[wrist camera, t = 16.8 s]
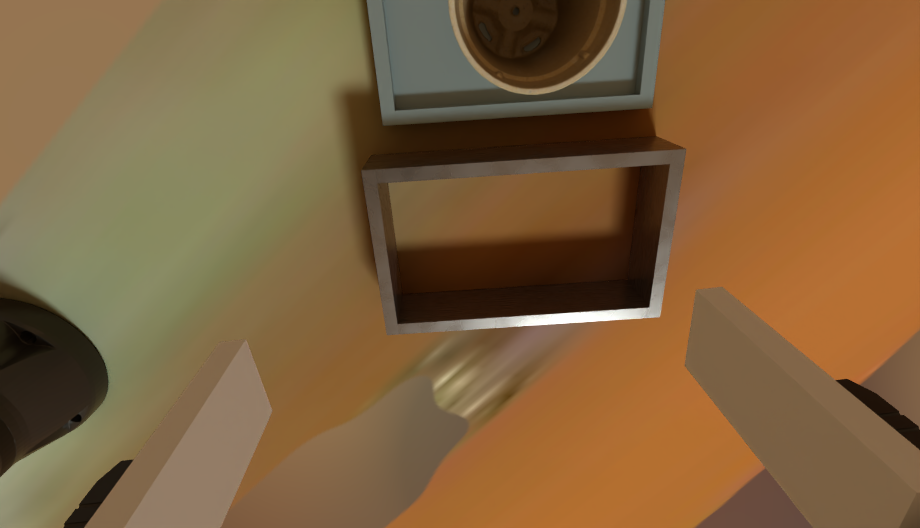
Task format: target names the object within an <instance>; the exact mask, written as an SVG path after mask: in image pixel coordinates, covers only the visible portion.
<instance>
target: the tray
mask: <svg viewBox="0 0 920 528" xmlns="http://www.w3.org/2000/svg"><path fill="white" fill-rule="evenodd" d="M664 5H665V0H627V5H626V9H625V13H624V17H623V20H622V23H621V26H620V28H619V30H618V33H617V35H616V37H615V39H614V41H613V43H612V44H611V46H610V47H609V49H608V50H607V52H606V53H605V55H604V56H603V57H602V59H601V60H600V61H599V62H598V63H597V64H596V65H595V66H594V67H593V68H592V69H591V70H590V71H589V72H588V73H587V74H585V75H584V76H583V77H581V78H580V79H579V80H577V81H576V82H574V83H572V84H570V85H568V86H566V87H564V88H562V89H559V90H557V91H554V92H550V93H544V94H538V95H527V94H519V93H514V92H510V91H507V90H505V89H502V88H500V87H498V86H496V85H494V84H492V83H491V82H489V81H488V80H487V79H485V78H484V77H483V76H481V75H480V74H479V73H478V72H477V71H476V70H475V69H474V68H473V66H472V65H471V64H470V63H469V61H468V60H467V58H466V57H465V56H464V54H463V52H462V50H461V48H460V46H459V44H458V42H457V40H456V37H455V35H454V31H453V28H452V25H451V20H450V15H449V5H448V0H367V7H368V14H369V22H370V30H371V38H372V45H373V53H374V61H375V68H376V76H377V84H378V91H379V99H380V107H381V115H382V122H383V126H388V125H403V124H418V123H433V122H448V121H464V120H479V119H494V118H509V117H524V116H539V115H554V114H569V113H585V112H600V111H615V110H630V109H645V108H652V105H653V96H654V88H655V80H656V71H657V63H658V55H659V47H660V38H661V30H662V22H663V13H664ZM518 13H519V9H518V8H514V10H513V14H514V15H517V14H518ZM479 29H480V30H481V32H482V33H483V35H484V36H485V37H486V38H487V39H488V41H490V40H491V36H490V35H489V33H488V31H487V29H486V26H485V24H484V23H480V24H479ZM539 43H540V39H539V38H537V39H536V40H535V41H533V42H532V43H530V44H529V45H527V46H526V47H524V50H525V51H531V50H532V49H533V48H535V47H537V46H538V44H539Z"/></svg>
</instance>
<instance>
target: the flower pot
mask: <svg viewBox="0 0 920 528" xmlns="http://www.w3.org/2000/svg"><path fill="white" fill-rule="evenodd" d="M448 5H449V15H450V20H451V25H452V28H453V31H454V35H455V37H456V40H457V42H458V44H459V46H460V48H461V50H462V52H463V54H464V56H465V57H466V58H467V60H468V61H469V63H470V64H471V65H472V66H473V68H474V69H475V70H476V71H477V72H478V73H479V74H480V75H481V76H483V77H484V78H485V79H487V80H488V81H489V82H491V83H492V84H494V85H496V86H498V87H500V88H502V89H505V90H507V91H510V92H514V93H519V94H527V95H538V94H544V93H550V92H554V91H557V90H559V89H562V88H564V87H566V86H568V85H570V84H572V83H574V82H576V81H577V80H579V79H580V78H581V77H583V76H584V75H585V74H587V73H588V72H589V71H590V70H591V69H592V68H593V67H594V66H595V65H596V64H597V63H598V62H599V61H600V60H601V59H602V57H603V56H604V55H605V53H606V52H607V50H608V49H609V47H610V46H611V44H612V43H613V41H614V39H615V37H616V35H617V33H618V30H619V28H620V26H621V23H622V20H623V17H624V13H625V9H626V5H627V0H448ZM514 8H518V9H519V13H518V14H517V15H514V14H513V10H514ZM480 23H484V24H485V26H486V29H487V31H488V33H489V35H490V36H491V40H490V41H488V39H487V38H486V37H485V36H484V35H483V33H482V32H481V30H480V29H479V24H480ZM537 38H539V39H540V43H539V44H538V46H537V47H535V48H533V49H532V50H531V51H525V50H524V47H526V46H527V45H529V44H530V43H532V42H533V41H535V40H536V39H537Z"/></svg>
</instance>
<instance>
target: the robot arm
mask: <svg viewBox="0 0 920 528" xmlns="http://www.w3.org/2000/svg"><path fill="white" fill-rule="evenodd" d="M685 367H686V368H687V369H688V370H689V372H690V373H691V374H692V375H693V377H694V378H695V379H696V381H697V382H698V383H699V384H700V386H701V387H702V388H703V389H704V391H705V392H706V393H707V394H708V396H709V397H710V398H711V399H712V401H713V402H714V403H715V405H716V406H717V407H718V408H719V410H720V411H721V412H722V413H723V415H724V416H725V417H726V418H727V420H728V421H729V422H730V423H731V425H732V426H733V427H734V428H735V430H736V431H737V432H738V434H739V435H740V436H741V437H742V439H743V440H744V441H745V442H746V444H747V445H748V446H749V447H750V449H751V450H752V451H753V452H754V454H755V455H756V456H757V458H758V459H759V460H760V461H761V463H762V464H763V465H764V466H765V468H766V469H767V470H768V471H769V473H770V474H771V475H772V476H773V478H774V479H775V480H776V481H777V483H778V484H779V485H780V487H781V488H782V489H783V490H784V492H785V493H786V494H787V495H788V497H789V498H790V499H791V500H792V502H793V503H794V504H795V506H796V507H797V508H798V509H799V510H800V512H801V513H802V514H803V516H804V517H805V518H806V519H807V521H808V522H809V523H810V524H811V526H812V527H813V528H920V430H919V427H918V426H917V425H916V424H915V423H913V422H912V421H911V420H910V419H908V418H907V417H906V416H904V415H900V414H899V411H898V410H897V409H895V408H894V407H893V406H892V405H890V404H889V403H888V402H886V401H885V400H884V399H882V398H881V397H880V396H879V395H877V394H876V393H874V392H872V391H870V390H868V389H866V388H864V387H862V386H860V385H858V384H856V383H854V382H852V381H850V380H848V379H842V380H834V379H833V378H832V377H831V376H829V375H828V374H827V373H826V372H825V371H823V370H822V369H821V368H820V367H819V366H817V365H816V364H815V363H814V362H813V361H811V360H810V359H809V358H808V357H806V356H805V355H804V354H803V353H802V352H800V351H799V350H798V349H797V348H796V347H794V346H793V345H792V344H791V343H789V342H788V341H787V340H786V339H785V338H783V337H782V336H781V335H780V334H779V333H777V332H776V331H775V330H774V329H773V328H771V327H770V326H769V325H768V324H766V323H765V322H764V321H763V320H762V319H760V318H759V317H758V316H757V315H756V314H754V313H753V312H752V311H751V310H750V309H748V308H747V307H746V306H745V305H743V304H742V303H741V302H740V301H739V300H737V299H736V298H735V297H734V296H733V295H731V294H730V293H729V292H728V291H727V290H725V289H724V288H723V287H717V288H708V289H699V290H696V294H695V301H694V307H693V314H692V320H691V327H690V333H689V340H688V347H687V353H686V360H685ZM107 390H108V376H107V371H106V368H105V365H104V363H103V361H102V359H101V357H100V355H99V354H98V352H97V351H96V349H95V348H94V347H93V345H92V344H91V343H90V342H89V341H88V340H87V339H86V338H85V337H84V336H83V335H82V334H81V333H80V332H79V331H78V330H76V329H75V328H74V327H73V326H71V325H70V324H68V323H67V322H65V321H64V320H62V319H61V318H59V317H57V316H55V315H54V314H52V313H50V312H48V311H45V310H43V309H41V308H38V307H36V306H33V305H30V304H27V303H23V302H19V301H14V300H9V299H0V477H1V476H2V475H3V474H4V473H5V472H6V471H7V470H8V469H9V468H10V467H11V466H12V465H13V464H15V463H16V462H18V461H19V460H21V459H23V458H25V457H26V456H28V455H30V454H32V453H34V452H35V451H37V450H39V449H41V448H42V447H44V446H46V445H48V444H50V443H51V442H53V441H55V440H57V439H59V438H60V437H62V436H64V435H66V434H67V433H69V432H71V431H73V430H74V429H76V428H77V427H79V426H80V425H81V424H83V423H84V422H85V421H86V420H87V419H88V418H89V417H90V416H91V415H92V414H93V413H94V412H95V410H96V409H97V408H98V407H99V406H100V405H101V404H102V402H103V401H104V399H105V397H106V394H107ZM271 413H272V409H271V406H270V403H269V401H268V398H267V395H266V392H265V390H264V387H263V384H262V381H261V379H260V376H259V373H258V370H257V368H256V365H255V362H254V359H253V357H252V354H251V351H250V349H249V346H248V343H247V340H246V339H243V340H234V341H225V342H219V344H218V345H217V346H216V348H215V349H214V350H213V352H212V353H211V355H210V356H209V357H208V359H207V360H206V361H205V363H204V364H203V366H202V367H201V368H200V370H199V371H198V372H197V374H196V375H195V377H194V378H193V379H192V381H191V382H190V383H189V385H188V386H187V387H186V389H185V390H184V392H183V393H182V394H181V396H180V397H179V398H178V400H177V401H176V403H175V404H174V405H173V407H172V408H171V409H170V411H169V412H168V414H167V415H166V416H165V418H164V419H163V420H162V422H161V423H160V424H159V426H158V427H157V429H156V430H155V431H154V433H153V434H152V435H151V437H150V438H149V440H148V441H147V442H146V444H145V445H144V446H143V448H142V449H141V451H140V452H139V453H138V455H137V456H136V457H135V459H134V460H126V461H121V462H119V463H118V464H117V465H116V466H115V467H114V468H112V469H111V470H110V471H109V472H108V473H106V474H105V475H104V476H103V477H102V478H101V479H99V480H98V481H97V482H96V483H95V485H94V486H93V487H92V489H91V490H90V491H89V492H88V494H87V495H86V496H85V498H84V499H83V500H82V501H81V503H80V504H79V508H78V509H75V510H74V512H73V513H72V514H71V516H70V517H69V518H68V519H67V521H66V522H65V523H64V528H221V525H222V523H223V521H224V519H225V516H226V514H227V512H228V510H229V507H230V505H231V503H232V501H233V498H234V496H235V494H236V492H237V490H238V487H239V485H240V483H241V481H242V478H243V476H244V474H245V472H246V469H247V467H248V465H249V463H250V460H251V458H252V456H253V454H254V451H255V449H256V447H257V445H258V442H259V440H260V438H261V436H262V433H263V431H264V429H265V427H266V424H267V422H268V420H269V418H270V415H271Z"/></svg>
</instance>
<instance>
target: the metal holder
mask: <svg viewBox="0 0 920 528" xmlns="http://www.w3.org/2000/svg"><path fill="white" fill-rule="evenodd" d="M685 154H686V149H685V148H683V147H680V146H678V145H676V144H673V143H671V142H669V141H666V140H664V139H662V138H659V137H657V136H654V137H639V138H624V139H608V140H593V141H578V142H563V143H548V144H533V145H518V146H502V147H487V148H472V149H457V150H442V151H427V152H412V153H396V154H381V155H371V157H370V158H369V160H368V161H367V163H366V164H365V166H364V167H363V169H362V170H361V173H362V179H363V185H364V192H365V198H366V205H367V211H368V217H369V224H370V230H371V236H372V243H373V249H374V256H375V262H376V268H377V275H378V281H379V287H380V294H381V300H382V307H383V313H384V319H385V326H386V332H387V335H395V334H410V333H425V332H440V331H455V330H471V329H486V328H501V327H516V326H531V325H547V324H562V323H577V322H592V321H607V320H622V319H638V318H653V317H660V313H661V306H662V300H663V294H664V287H665V281H666V275H667V268H668V262H669V256H670V249H671V243H672V237H673V230H674V224H675V218H676V211H677V205H678V199H679V192H680V186H681V180H682V173H683V167H684V161H685ZM633 166H641V168H640V177H639V186H638V194H637V203H636V211H635V220H634V229H633V237H632V246H631V254H630V263H629V272H628V280H614V281H599V282H584V283H569V284H554V285H539V286H523V287H508V288H493V289H478V290H463V291H447V292H432V293H417V294H402V286H401V279H400V271H399V263H398V256H397V248H396V241H395V233H394V226H393V218H392V211H391V203H390V195H389V188H388V183H391V182H406V181H421V180H436V179H451V178H467V177H482V176H497V175H512V174H527V173H542V172H557V171H573V170H588V169H603V168H618V167H633Z"/></svg>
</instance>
